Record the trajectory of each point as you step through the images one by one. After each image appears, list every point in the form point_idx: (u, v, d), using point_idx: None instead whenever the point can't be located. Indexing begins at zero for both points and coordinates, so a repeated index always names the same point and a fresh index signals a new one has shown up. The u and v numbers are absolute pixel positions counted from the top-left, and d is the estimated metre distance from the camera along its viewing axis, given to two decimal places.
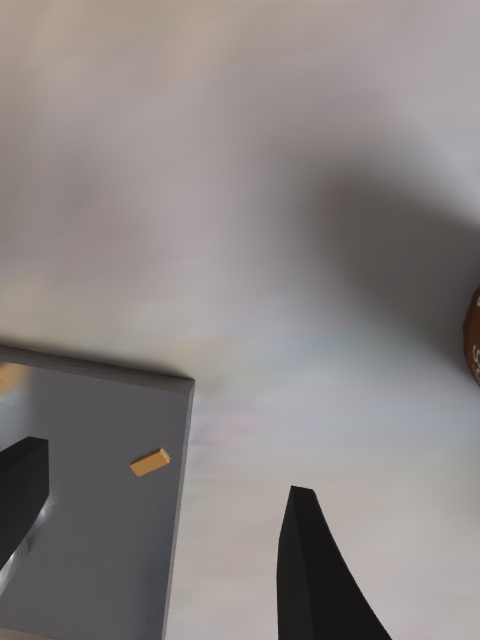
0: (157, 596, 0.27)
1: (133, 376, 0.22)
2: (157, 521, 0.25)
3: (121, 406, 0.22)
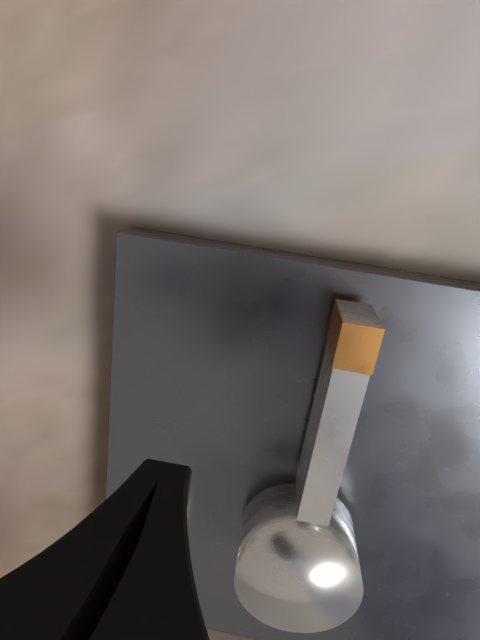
0: None
1: None
2: None
3: None
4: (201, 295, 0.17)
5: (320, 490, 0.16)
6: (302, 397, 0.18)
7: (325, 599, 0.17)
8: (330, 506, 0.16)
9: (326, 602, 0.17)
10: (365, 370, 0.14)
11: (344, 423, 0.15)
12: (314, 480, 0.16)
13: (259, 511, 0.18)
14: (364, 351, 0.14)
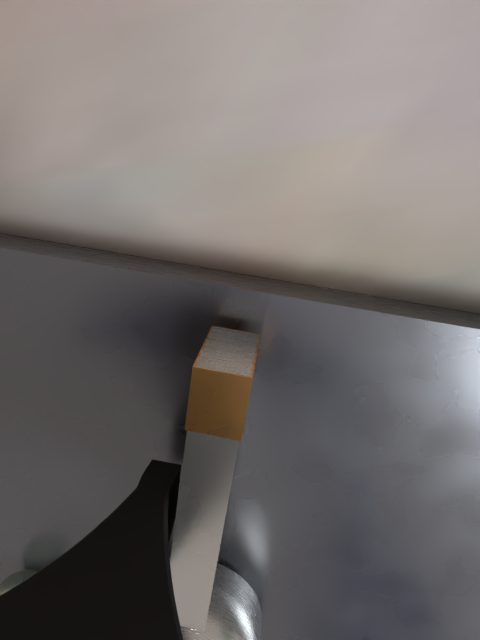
0: None
1: None
2: None
3: None
4: (40, 318, 0.13)
5: (188, 586, 0.12)
6: None
7: None
8: (204, 607, 0.12)
9: None
10: (231, 434, 0.10)
11: (210, 503, 0.11)
12: (179, 573, 0.11)
13: None
14: (227, 408, 0.10)
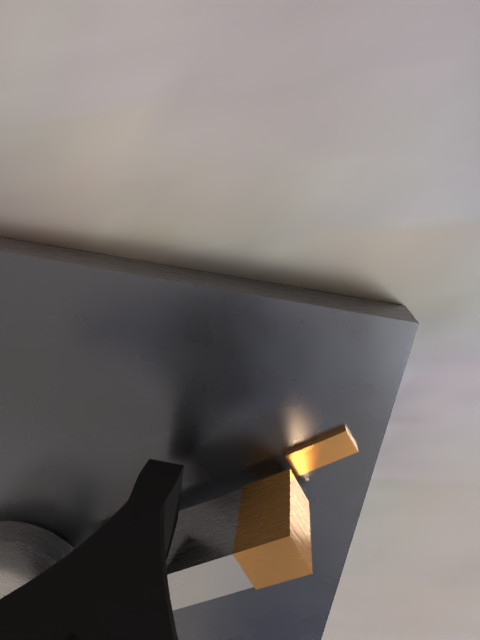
0: None
1: (302, 295, 0.12)
2: (317, 551, 0.15)
3: (283, 347, 0.12)
4: None
5: None
6: None
7: None
8: None
9: None
10: (256, 582, 0.11)
11: (184, 594, 0.12)
12: None
13: (10, 551, 0.14)
14: (274, 570, 0.11)
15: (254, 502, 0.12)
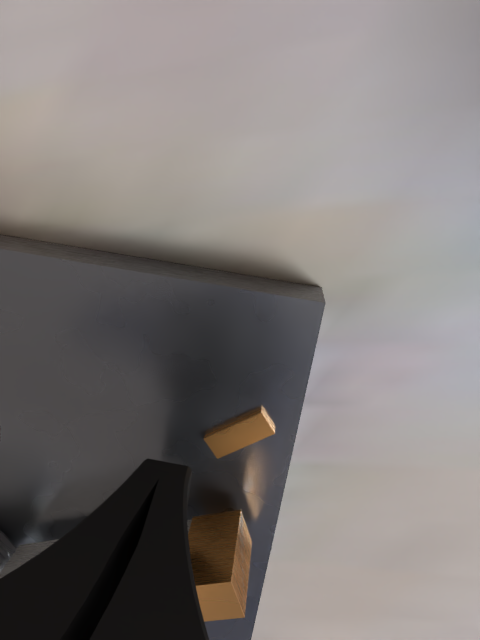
0: None
1: (215, 276, 0.12)
2: None
3: (195, 329, 0.12)
4: None
5: None
6: None
7: None
8: None
9: None
10: None
11: None
12: None
13: None
14: (210, 609, 0.12)
15: (201, 537, 0.13)
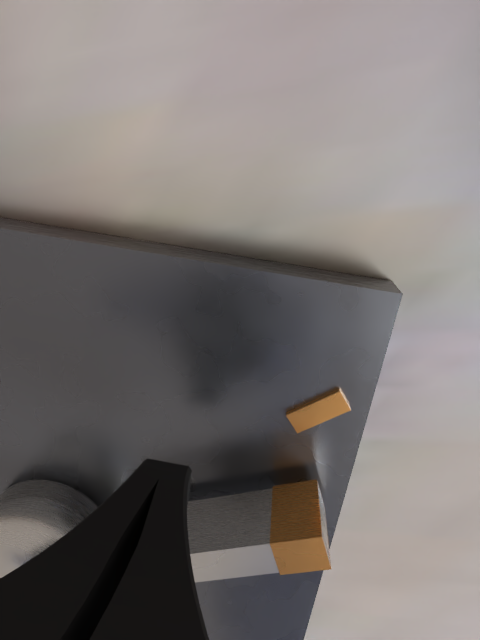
0: (297, 613, 0.18)
1: (300, 271, 0.14)
2: None
3: (284, 317, 0.14)
4: None
5: None
6: (26, 383, 0.16)
7: None
8: None
9: None
10: (282, 568, 0.14)
11: (217, 570, 0.14)
12: None
13: (54, 508, 0.16)
14: (301, 561, 0.13)
15: (285, 502, 0.15)
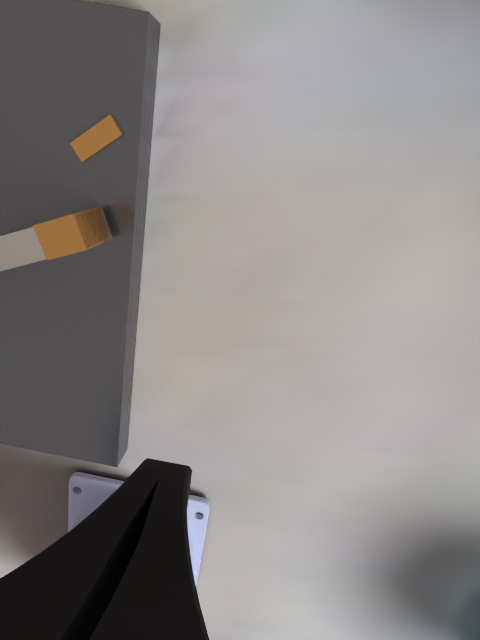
0: (113, 366, 0.21)
1: None
2: (110, 241, 0.19)
3: (56, 41, 0.16)
4: None
5: None
6: None
7: None
8: None
9: None
10: (47, 253, 0.16)
11: None
12: None
13: None
14: (61, 243, 0.16)
15: None
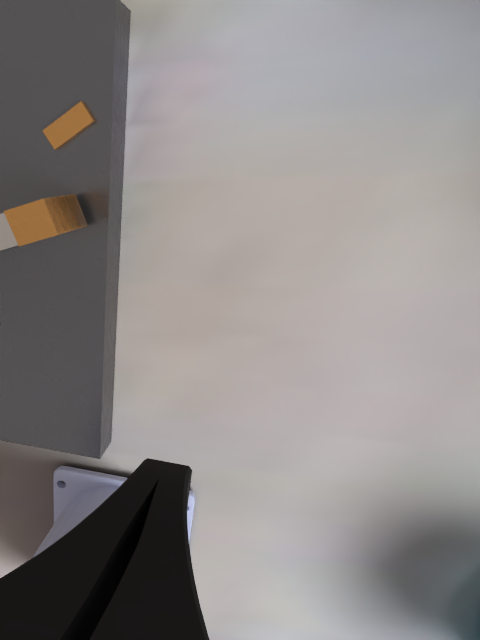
0: (92, 355, 0.21)
1: None
2: (86, 229, 0.19)
3: (26, 29, 0.16)
4: None
5: None
6: None
7: None
8: None
9: None
10: (18, 238, 0.16)
11: None
12: None
13: None
14: (32, 229, 0.16)
15: None
